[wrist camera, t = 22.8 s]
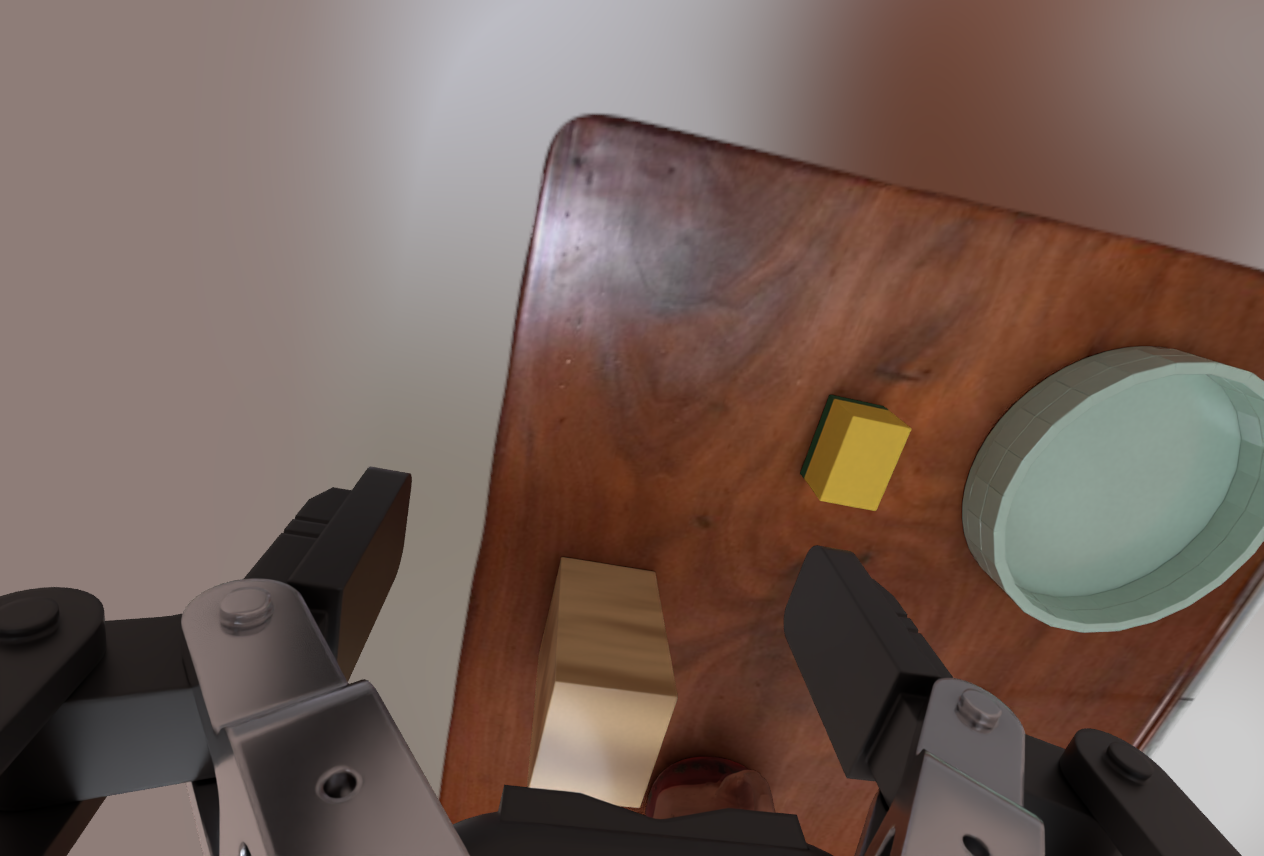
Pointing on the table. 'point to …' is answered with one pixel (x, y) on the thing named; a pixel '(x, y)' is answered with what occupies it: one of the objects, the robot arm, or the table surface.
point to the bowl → (1120, 488)
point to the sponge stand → (601, 684)
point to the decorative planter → (707, 788)
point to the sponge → (854, 452)
